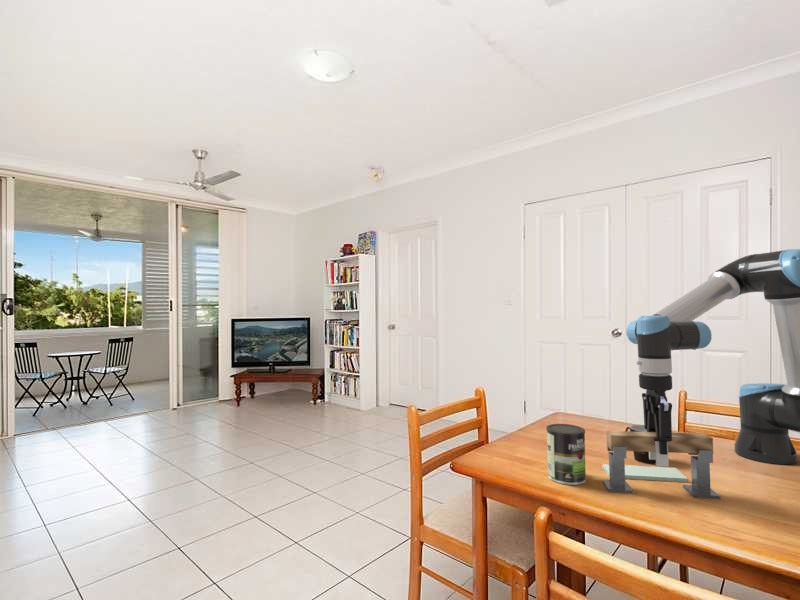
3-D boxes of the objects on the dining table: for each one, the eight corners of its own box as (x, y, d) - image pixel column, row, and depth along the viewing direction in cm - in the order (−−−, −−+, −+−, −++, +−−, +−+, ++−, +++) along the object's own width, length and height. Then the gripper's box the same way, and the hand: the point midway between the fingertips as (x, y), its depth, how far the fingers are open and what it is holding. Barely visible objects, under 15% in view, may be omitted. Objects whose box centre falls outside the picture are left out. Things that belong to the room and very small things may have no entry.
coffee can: (594, 480, 118) (593, 430, 118) (568, 488, 113) (567, 435, 113) (564, 468, 127) (563, 421, 127) (539, 475, 122) (538, 426, 122)
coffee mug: (666, 466, 128) (665, 432, 128) (635, 464, 129) (634, 431, 130) (651, 453, 139) (651, 422, 139) (623, 451, 141) (622, 421, 141)
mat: (675, 471, 123) (675, 467, 123) (688, 482, 115) (688, 478, 115) (602, 467, 127) (602, 464, 127) (609, 477, 119) (609, 474, 119)
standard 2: (707, 488, 111) (706, 443, 111) (721, 499, 105) (719, 451, 105) (682, 487, 112) (681, 442, 113) (694, 497, 106) (692, 450, 106)
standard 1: (625, 483, 115) (624, 439, 115) (633, 494, 109) (632, 447, 109) (602, 482, 116) (601, 438, 117) (608, 492, 110) (607, 446, 110)
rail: (705, 448, 110) (704, 433, 111) (713, 454, 107) (712, 438, 107) (607, 445, 115) (606, 430, 115) (611, 450, 111) (610, 435, 111)
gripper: (628, 369, 120) (632, 451, 120) (652, 379, 104) (655, 474, 103) (657, 369, 119) (661, 452, 118) (685, 379, 102) (690, 476, 102)
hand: (658, 462), depth 111 cm, fingers closed on rail, 4 cm apart
